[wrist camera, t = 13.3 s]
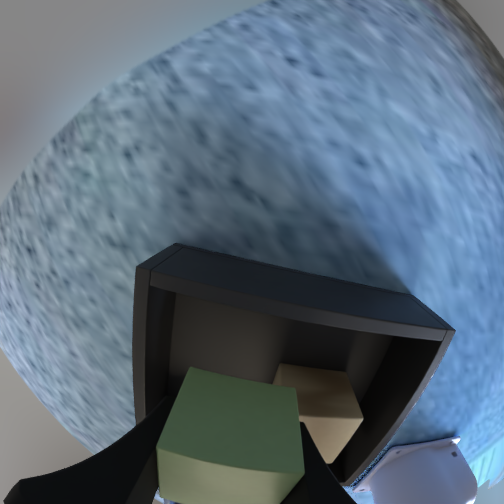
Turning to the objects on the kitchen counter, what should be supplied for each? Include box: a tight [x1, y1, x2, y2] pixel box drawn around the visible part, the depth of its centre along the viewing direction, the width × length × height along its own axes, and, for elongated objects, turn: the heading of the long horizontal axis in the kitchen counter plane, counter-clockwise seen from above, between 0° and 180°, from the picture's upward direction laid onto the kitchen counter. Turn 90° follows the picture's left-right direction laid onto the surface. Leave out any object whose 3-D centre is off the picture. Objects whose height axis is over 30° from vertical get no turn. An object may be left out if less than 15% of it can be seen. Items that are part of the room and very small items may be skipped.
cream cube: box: [273, 363, 363, 463], centre depth 13 cm, size 4×4×4 cm
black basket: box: [132, 243, 456, 486], centre depth 13 cm, size 13×12×4 cm
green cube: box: [156, 367, 305, 504], centre depth 8 cm, size 4×4×4 cm
